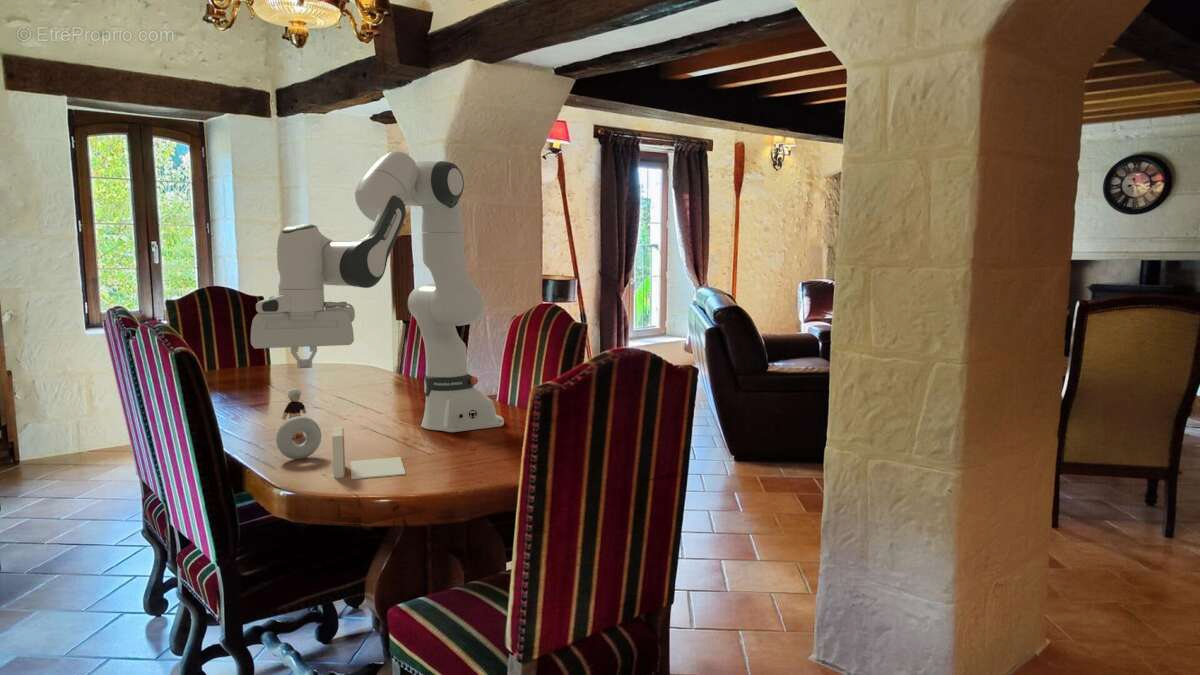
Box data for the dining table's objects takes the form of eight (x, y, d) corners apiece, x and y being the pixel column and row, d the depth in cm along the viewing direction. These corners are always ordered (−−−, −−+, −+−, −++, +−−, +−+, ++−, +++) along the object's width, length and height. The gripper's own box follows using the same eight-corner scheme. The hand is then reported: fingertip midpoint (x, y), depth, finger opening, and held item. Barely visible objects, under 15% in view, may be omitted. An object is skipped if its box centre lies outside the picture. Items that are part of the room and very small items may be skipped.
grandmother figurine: (294, 440, 192) (292, 391, 190) (280, 439, 192) (278, 390, 191) (311, 433, 199) (309, 385, 198) (298, 432, 200) (296, 385, 198)
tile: (345, 466, 168) (343, 426, 167) (345, 477, 160) (343, 435, 159) (334, 467, 167) (332, 427, 166) (333, 478, 159) (332, 436, 158)
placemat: (400, 458, 174) (400, 456, 174) (405, 474, 161) (405, 473, 161) (350, 462, 171) (350, 461, 171) (351, 479, 158) (351, 478, 158)
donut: (319, 453, 178) (317, 412, 177) (324, 456, 176) (322, 414, 174) (275, 461, 172) (273, 418, 171) (279, 464, 169) (277, 420, 168)
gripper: (354, 300, 164) (356, 363, 165) (251, 302, 157) (254, 368, 159) (354, 302, 158) (356, 367, 159) (247, 304, 151) (251, 372, 153)
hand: (304, 367), depth 159 cm, fingers closed
